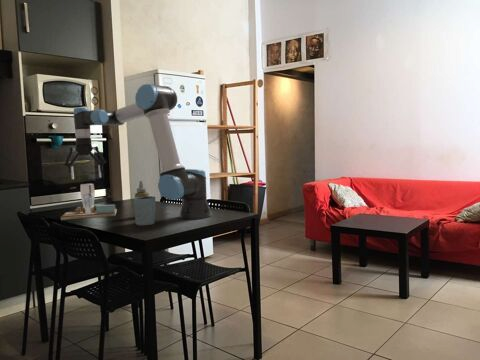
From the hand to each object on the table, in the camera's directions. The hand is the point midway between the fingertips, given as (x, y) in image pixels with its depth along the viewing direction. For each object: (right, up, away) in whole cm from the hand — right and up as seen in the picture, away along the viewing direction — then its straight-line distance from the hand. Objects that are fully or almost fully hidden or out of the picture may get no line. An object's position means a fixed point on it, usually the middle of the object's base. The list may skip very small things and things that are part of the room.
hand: (86, 178), depth 222 cm
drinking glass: (+37, -21, -28) cm, 51 cm away
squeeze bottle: (+32, -20, -11) cm, 39 cm away
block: (+11, -18, -4) cm, 22 cm away
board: (+2, -19, 0) cm, 20 cm away
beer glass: (+1, -18, +2) cm, 18 cm away
